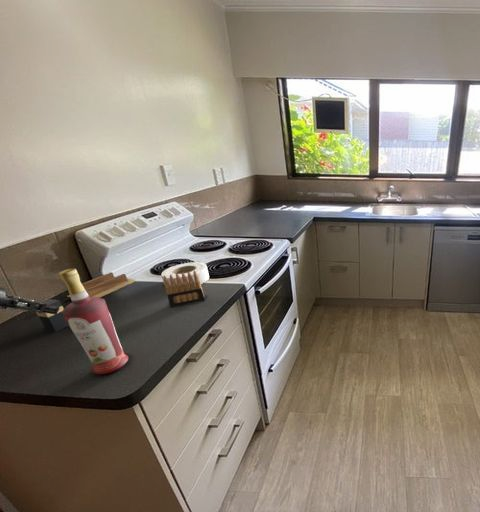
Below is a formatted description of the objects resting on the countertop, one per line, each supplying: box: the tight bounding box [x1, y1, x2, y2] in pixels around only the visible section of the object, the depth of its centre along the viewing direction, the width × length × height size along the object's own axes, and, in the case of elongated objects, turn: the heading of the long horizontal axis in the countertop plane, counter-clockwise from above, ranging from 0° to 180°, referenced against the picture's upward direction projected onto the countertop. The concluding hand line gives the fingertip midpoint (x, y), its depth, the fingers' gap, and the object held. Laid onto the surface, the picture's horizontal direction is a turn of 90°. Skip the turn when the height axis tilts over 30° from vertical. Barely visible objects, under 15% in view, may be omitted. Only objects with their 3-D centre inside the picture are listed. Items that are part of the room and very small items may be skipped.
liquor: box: [58, 268, 129, 375], centre depth 69 cm, size 7×7×28 cm
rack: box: [66, 271, 135, 300], centre depth 112 cm, size 11×16×4 cm
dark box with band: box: [34, 298, 70, 333], centre depth 89 cm, size 4×4×9 cm
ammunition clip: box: [162, 271, 206, 308], centre depth 102 cm, size 11×2×12 cm, turn 117°
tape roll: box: [160, 261, 210, 290], centre depth 118 cm, size 16×16×6 cm
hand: (47, 309), depth 87 cm, fingers open, 8 cm apart
